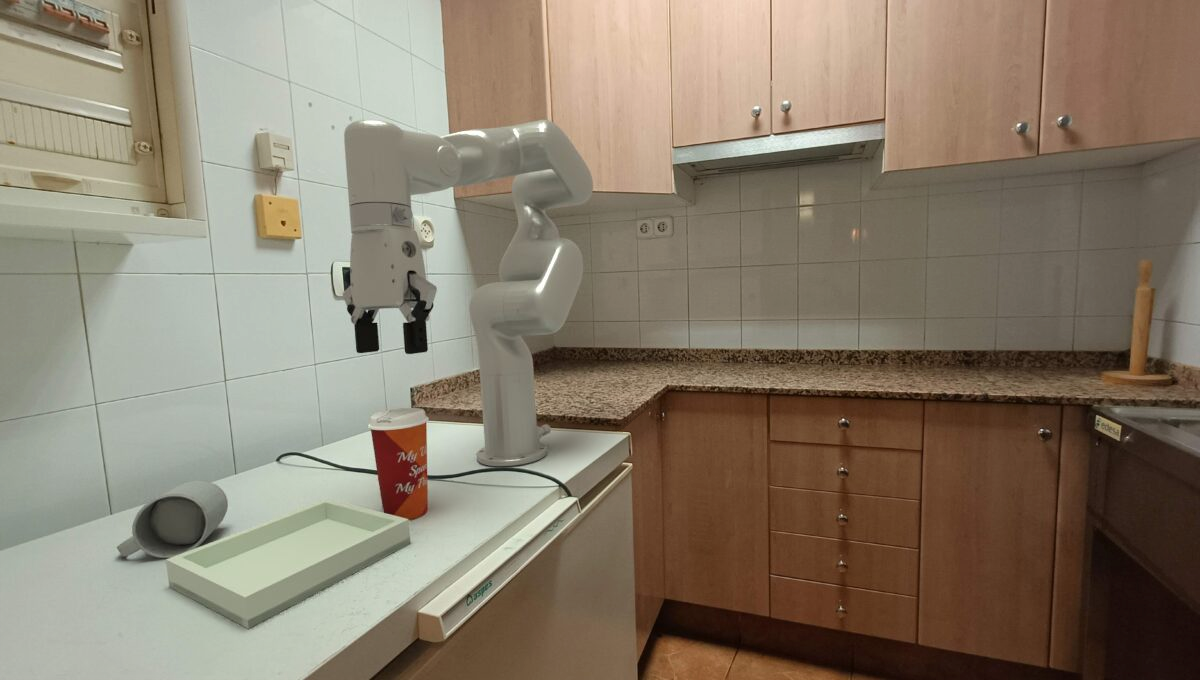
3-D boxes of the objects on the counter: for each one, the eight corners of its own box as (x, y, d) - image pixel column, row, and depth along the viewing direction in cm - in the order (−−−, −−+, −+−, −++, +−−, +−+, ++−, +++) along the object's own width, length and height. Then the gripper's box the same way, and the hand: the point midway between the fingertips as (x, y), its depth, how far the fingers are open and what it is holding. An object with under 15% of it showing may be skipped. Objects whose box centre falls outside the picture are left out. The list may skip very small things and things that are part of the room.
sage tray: (330, 520, 71) (328, 498, 71) (410, 543, 63) (408, 519, 63) (169, 586, 56) (165, 559, 55) (248, 629, 47) (245, 597, 47)
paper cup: (416, 526, 68) (407, 419, 66) (363, 524, 69) (354, 419, 68) (446, 502, 75) (438, 406, 74) (397, 501, 77) (389, 406, 76)
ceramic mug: (234, 524, 71) (227, 469, 70) (212, 551, 63) (204, 489, 63) (139, 541, 68) (130, 483, 67) (103, 571, 60) (92, 507, 59)
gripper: (451, 217, 68) (459, 350, 69) (365, 232, 76) (374, 349, 78) (402, 210, 61) (413, 356, 62) (315, 226, 70) (325, 354, 71)
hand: (391, 352), depth 70 cm, fingers open, 9 cm apart
